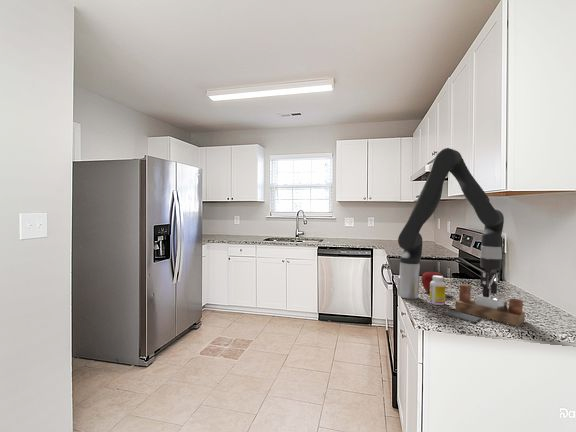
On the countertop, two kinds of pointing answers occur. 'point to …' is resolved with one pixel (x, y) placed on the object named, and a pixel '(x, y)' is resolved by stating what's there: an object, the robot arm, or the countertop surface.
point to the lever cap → (492, 302)
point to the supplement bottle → (437, 290)
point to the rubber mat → (461, 316)
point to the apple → (428, 279)
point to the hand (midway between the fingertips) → (489, 295)
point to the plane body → (469, 306)
